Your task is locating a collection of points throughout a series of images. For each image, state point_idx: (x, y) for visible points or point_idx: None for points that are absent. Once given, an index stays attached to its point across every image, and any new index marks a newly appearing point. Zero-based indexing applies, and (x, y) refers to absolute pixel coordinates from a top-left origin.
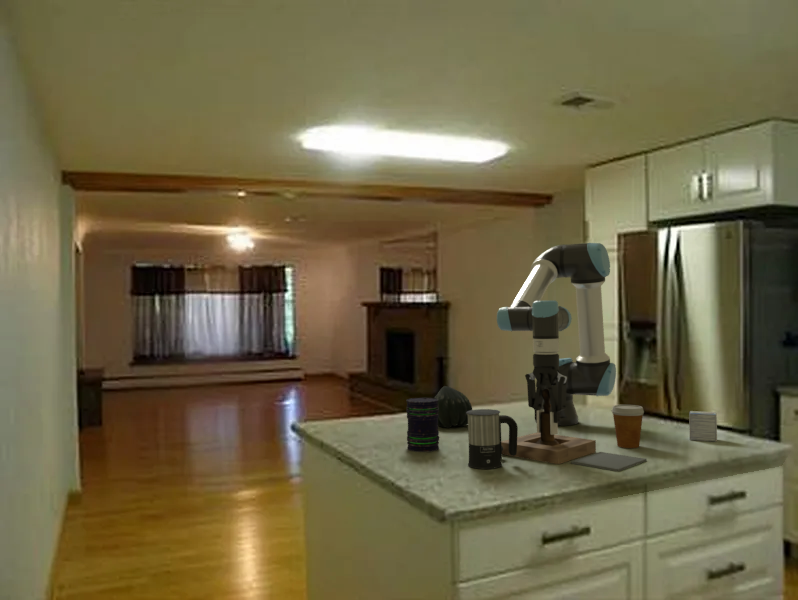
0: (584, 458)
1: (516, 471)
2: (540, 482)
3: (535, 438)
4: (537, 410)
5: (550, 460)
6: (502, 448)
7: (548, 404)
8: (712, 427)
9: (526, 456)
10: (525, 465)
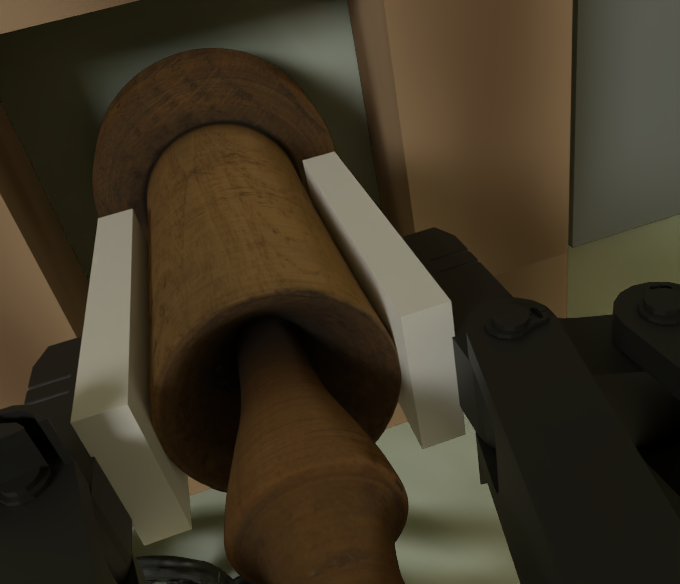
0: (605, 104)
1: (459, 548)
2: None
3: (8, 207)
4: (151, 535)
5: None
6: (197, 570)
7: (392, 538)
8: None
9: None
10: (404, 473)
